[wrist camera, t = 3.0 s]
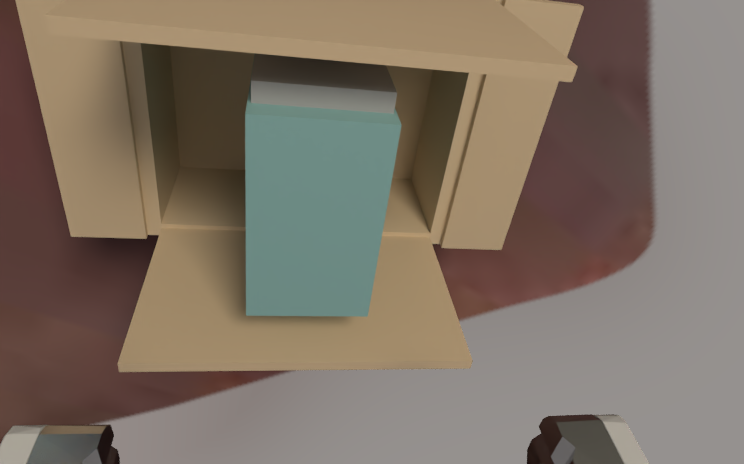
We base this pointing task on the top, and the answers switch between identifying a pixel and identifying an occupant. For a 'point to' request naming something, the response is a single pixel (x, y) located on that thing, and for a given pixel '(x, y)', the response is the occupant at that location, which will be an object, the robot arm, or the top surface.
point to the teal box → (316, 183)
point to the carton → (227, 158)
